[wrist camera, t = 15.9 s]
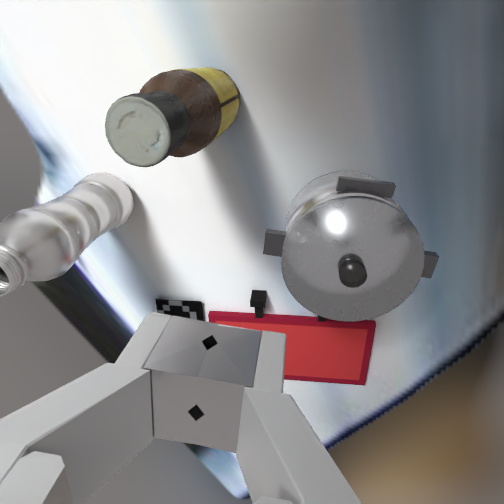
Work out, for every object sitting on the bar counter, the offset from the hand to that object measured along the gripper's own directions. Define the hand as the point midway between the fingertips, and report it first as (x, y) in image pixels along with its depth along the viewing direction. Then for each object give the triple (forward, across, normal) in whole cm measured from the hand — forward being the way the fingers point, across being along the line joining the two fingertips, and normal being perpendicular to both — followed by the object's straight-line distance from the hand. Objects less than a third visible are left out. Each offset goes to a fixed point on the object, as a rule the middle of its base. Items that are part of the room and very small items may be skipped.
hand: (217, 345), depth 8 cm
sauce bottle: (+34, +8, -2) cm, 35 cm away
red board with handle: (+35, -1, +28) cm, 45 cm away
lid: (+25, -8, +10) cm, 28 cm away
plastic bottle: (+34, +20, +10) cm, 41 cm away
